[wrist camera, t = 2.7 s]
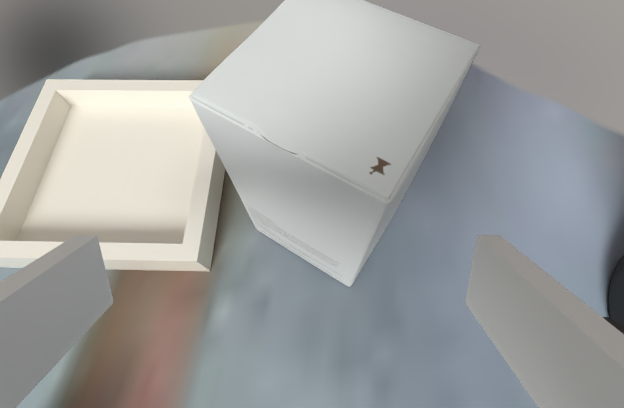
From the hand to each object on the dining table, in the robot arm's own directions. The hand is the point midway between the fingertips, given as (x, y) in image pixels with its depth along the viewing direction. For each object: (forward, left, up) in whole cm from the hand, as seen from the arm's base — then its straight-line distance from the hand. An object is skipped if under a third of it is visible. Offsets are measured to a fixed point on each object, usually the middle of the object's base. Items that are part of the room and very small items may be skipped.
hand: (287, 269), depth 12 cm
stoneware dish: (+15, -11, -13) cm, 23 cm away
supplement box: (-2, -8, -13) cm, 16 cm away
